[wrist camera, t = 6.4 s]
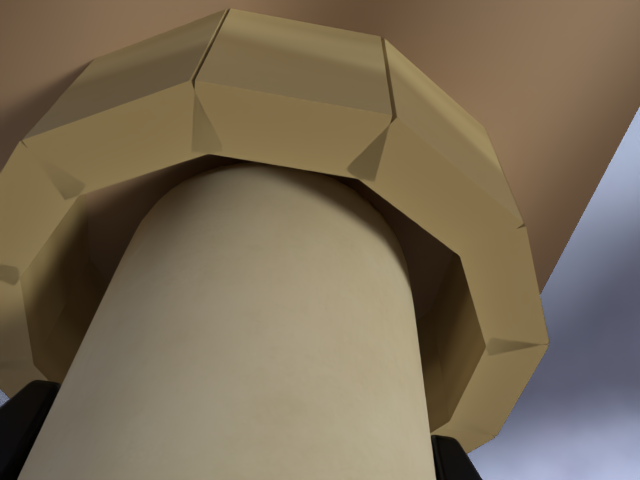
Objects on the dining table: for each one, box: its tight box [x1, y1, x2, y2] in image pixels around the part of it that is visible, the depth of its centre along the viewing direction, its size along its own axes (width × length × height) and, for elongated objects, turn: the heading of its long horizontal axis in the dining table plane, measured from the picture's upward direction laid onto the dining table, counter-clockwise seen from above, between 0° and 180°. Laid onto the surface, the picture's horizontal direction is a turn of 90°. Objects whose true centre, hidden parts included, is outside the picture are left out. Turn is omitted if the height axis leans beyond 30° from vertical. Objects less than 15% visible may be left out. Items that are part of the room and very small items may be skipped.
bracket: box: [0, 0, 640, 454], centre depth 12 cm, size 12×14×4 cm
